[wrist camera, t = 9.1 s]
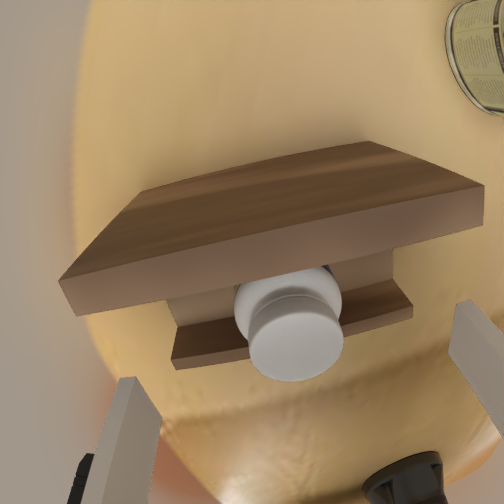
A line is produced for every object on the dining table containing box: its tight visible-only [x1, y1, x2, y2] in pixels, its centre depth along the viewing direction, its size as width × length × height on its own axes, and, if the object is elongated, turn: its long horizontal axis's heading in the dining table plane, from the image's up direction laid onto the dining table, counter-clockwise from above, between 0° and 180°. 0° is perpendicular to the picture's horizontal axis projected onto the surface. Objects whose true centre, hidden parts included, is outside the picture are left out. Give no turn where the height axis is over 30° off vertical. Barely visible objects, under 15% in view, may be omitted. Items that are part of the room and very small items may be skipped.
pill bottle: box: [234, 265, 344, 382], centre depth 17 cm, size 5×5×9 cm
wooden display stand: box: [58, 141, 484, 370], centre depth 18 cm, size 11×16×12 cm, turn 103°
